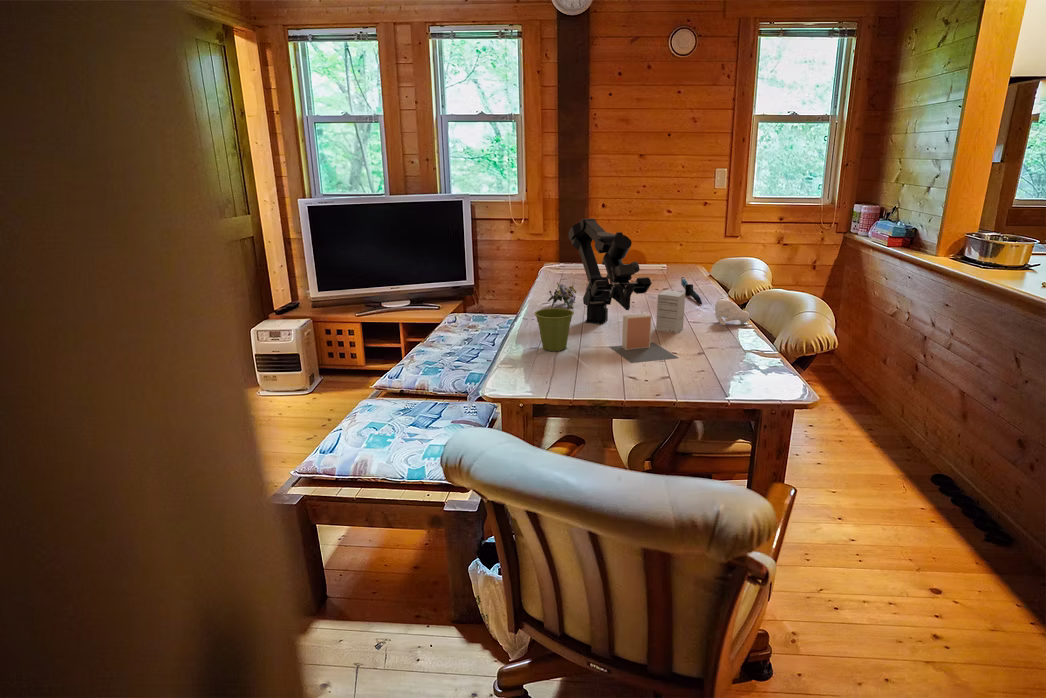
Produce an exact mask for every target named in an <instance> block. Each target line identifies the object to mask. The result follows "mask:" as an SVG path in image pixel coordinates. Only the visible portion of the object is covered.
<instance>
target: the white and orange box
mask: <svg viewBox="0 0 1046 698" xmlns="http://www.w3.org/2000/svg"><path fill="white" fill-rule="evenodd" d="M651 330H652V314H649V313H638V314H627V315H626V314H625V315H623V317H622V336H621V337H622V338H621V346H622V348H624V349H625V350H629V349H639V348H649V347H650V343H651V335H652V333H651V332H652V331H651Z"/></svg>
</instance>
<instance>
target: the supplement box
mask: <svg viewBox="0 0 1046 698" xmlns="http://www.w3.org/2000/svg"><path fill="white" fill-rule="evenodd" d="M685 303H686V295H685V291H677V290H676V291H675V290H663V291H662V292H660V293H658V294H657V304H656V324H655V325H656V326H655V330H656V331H658V332H665V333H666V332H668V333H675V334H678V333H679V332H680V331H682V330H683V329H684V321H685V320H684V319H685V318H684V317H685Z"/></svg>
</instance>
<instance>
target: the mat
mask: <svg viewBox="0 0 1046 698" xmlns="http://www.w3.org/2000/svg"><path fill="white" fill-rule="evenodd" d="M609 349H611V350H613V351H614V352H615V353H616V354H618V355H619V356H621V357H622V358H623V359H625V360H626V361H627V362H629V363H630V364H637V363H644V362H646V363H647V362H656V361H665V360H666V361H668V360H676V359H679V357H678V356H677V355H675V354H673V353H672V352H670V351H669V350H667V349H665V348H664V347H662V346H660V345H658V344H657V343H655V342H650V347H649V348H639V349H629V350H625V349H624V348H622V345H614V346H613V345H612V346H609Z"/></svg>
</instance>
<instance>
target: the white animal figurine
mask: <svg viewBox="0 0 1046 698" xmlns="http://www.w3.org/2000/svg"><path fill="white" fill-rule="evenodd" d="M714 311H715V313H714V314H715V317H716V320H717V321H718V323H719V324H720V325H722V326H723V325H725V326H726V322H731V321H739V322H740V324H741V323H743V324H742V325H745V324H746V323H747V322H748V321H750V319H751V318H750V317H751V316H750V315H751V314H750V313H749V312H748V311H746V310H743V309H741V307H739V306H738V305H737V304H736V303H735V302H733V301H731V300H729V299H727V298H722V299H719V300H717V301H716V302H715V306H714ZM744 323H745V324H744Z"/></svg>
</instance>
